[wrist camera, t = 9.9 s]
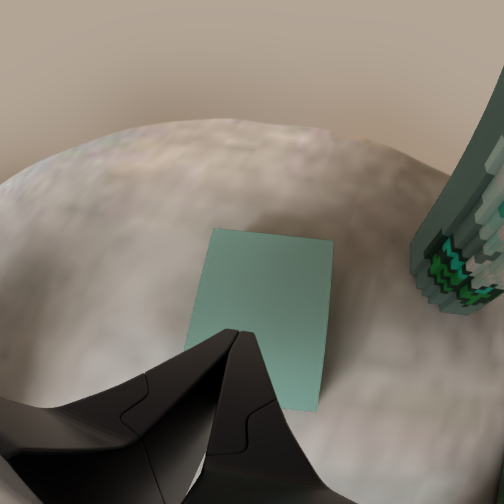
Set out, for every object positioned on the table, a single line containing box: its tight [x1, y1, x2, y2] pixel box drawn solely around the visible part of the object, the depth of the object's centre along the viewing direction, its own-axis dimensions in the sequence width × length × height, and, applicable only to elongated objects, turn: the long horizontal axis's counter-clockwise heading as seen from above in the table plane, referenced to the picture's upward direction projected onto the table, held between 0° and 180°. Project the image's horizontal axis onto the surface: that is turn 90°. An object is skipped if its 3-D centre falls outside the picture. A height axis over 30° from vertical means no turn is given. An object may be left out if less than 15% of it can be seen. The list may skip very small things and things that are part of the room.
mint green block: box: [184, 228, 334, 412], centre depth 15 cm, size 3×6×8 cm
